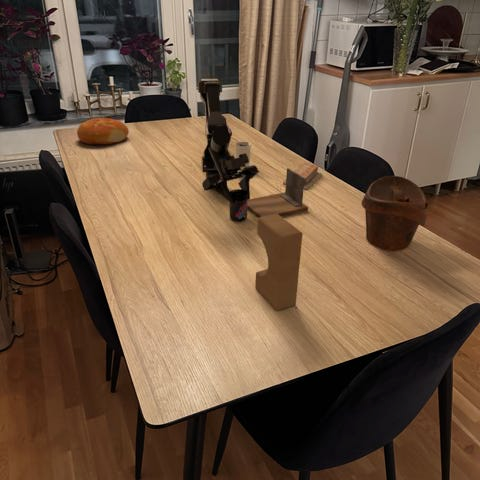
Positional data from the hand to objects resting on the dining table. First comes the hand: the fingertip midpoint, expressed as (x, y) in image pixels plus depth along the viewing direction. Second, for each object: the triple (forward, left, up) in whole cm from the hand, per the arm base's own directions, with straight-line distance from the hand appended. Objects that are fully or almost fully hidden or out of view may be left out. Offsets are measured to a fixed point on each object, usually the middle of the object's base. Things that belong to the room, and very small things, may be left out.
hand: (241, 201), depth 145 cm
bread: (-104, -21, -7) cm, 107 cm away
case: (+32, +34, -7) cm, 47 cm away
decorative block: (+41, -11, -7) cm, 43 cm away
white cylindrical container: (-43, +23, -7) cm, 49 cm away
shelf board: (-3, +15, -7) cm, 17 cm away
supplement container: (-1, 0, -7) cm, 7 cm away
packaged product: (-21, +38, -7) cm, 44 cm away
